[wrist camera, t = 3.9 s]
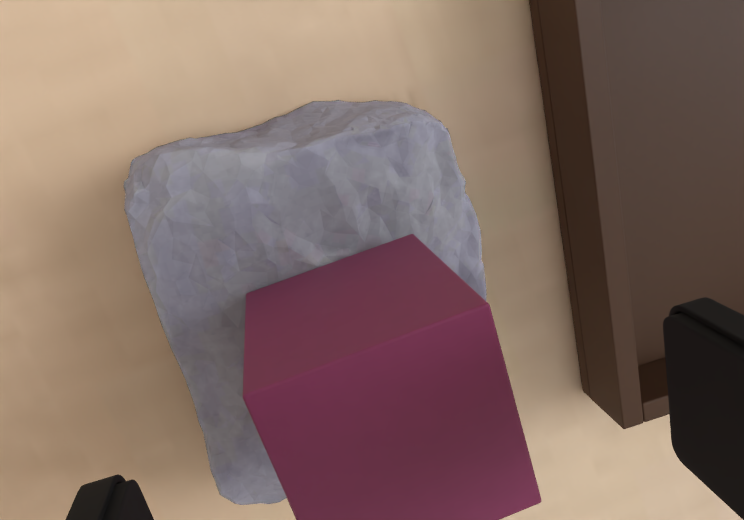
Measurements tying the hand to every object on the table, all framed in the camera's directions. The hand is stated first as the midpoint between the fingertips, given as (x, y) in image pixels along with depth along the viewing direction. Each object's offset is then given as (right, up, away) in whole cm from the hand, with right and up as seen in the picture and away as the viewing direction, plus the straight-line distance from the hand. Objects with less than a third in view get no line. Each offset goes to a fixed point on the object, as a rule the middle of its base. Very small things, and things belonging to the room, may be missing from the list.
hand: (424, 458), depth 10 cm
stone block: (-2, +3, +10) cm, 11 cm away
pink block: (-1, +1, +7) cm, 7 cm away
